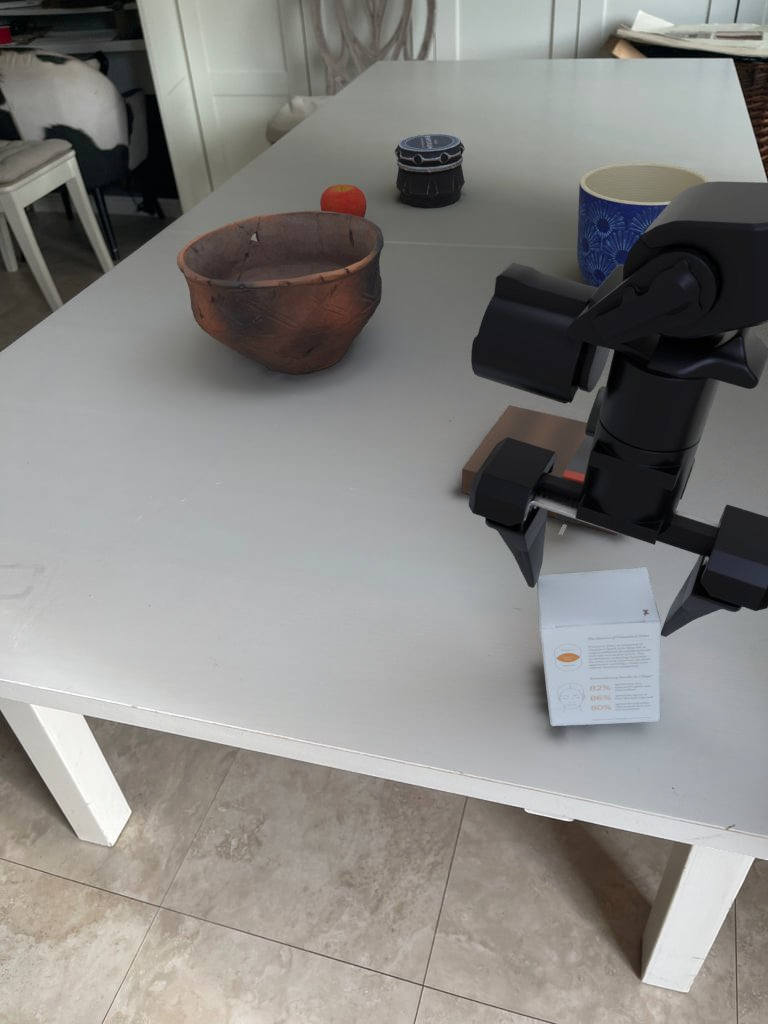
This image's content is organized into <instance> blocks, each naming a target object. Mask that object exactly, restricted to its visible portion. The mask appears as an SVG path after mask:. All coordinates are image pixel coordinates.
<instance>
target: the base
mask: <svg viewBox="0 0 768 1024" xmlns="http://www.w3.org/2000/svg"><path fill="white" fill-rule="evenodd" d="M586 425H587V421H582V420H577V419H573V418H569V417H564V416H559V415H555V414H551V413H546V412H542V411H538V410H533V409H529V408H524V407H521V406H520V407H518V406H515V405H511V404H509V405H507V407H506V408H505V410H504V411H503V412H502V414H501V415H500V417H499V418H498V419H497V420H496V422H495V423H494V425H493V426H492V427H491V429H490V430H489V431H488V433H487V434H486V436H485V437H484V438H483V440H482V441H481V443H480V444H479V445H478V447H477V448H476V449H475V451H474V452H473V453H472V455H471V456H470V457H469V459H468V461H466V463H465V465H463V467H462V468H461V492H462V493H464V494H468V495H470V489H471V485H472V482H473V479H474V476H475V474H476V473H477V471H478V470H479V469H480V467H481V466H482V464H483V463H484V462H485V460H486V459H487V457H488V456H489V454H490V453H491V452H492V450H493V449H494V447H495V446H496V444H497V443H498V442H500V441H502V440H503V439H505V438H507V437H509V438H512V439H516V440H519V441H522V442H525V443H529V444H532V445H535V446H538V447H542V448H545V449H548V450H551V451H555V452H556V454H557V459H556V464H555V468H554V470H553V471H552V472H551V473H549V474H551V475H554V476H558V477H561V476H562V475H563V473H564V471H565V470H566V468H567V466H568V465H569V463H570V461H571V460H572V458H573V456H574V455H575V453H576V451H577V450H578V448H579V446H580V445H581V443H582V441H583V440H584V438H585V436H586V434H585V429H586ZM547 517H550V518H555V519H557V520H561V521H566V522H569V523H572V524H576V525H581V526H583V527H587V528H590V529H594V530H598V531H602V532H605V533H609V534H612V535H616V536H617V535H619V533H616V532H613V531H610V530H607V529H604V528H601V527H598V526H595V525H592V524H589V523H586V522H583V521H580V522H579V524H577V523H574V522H570V521H567V520H563V519H560V518H556V512H553V511H550V510H548V512H547ZM567 528H568V525H567V524H565V523H564V524H562V526H561V528H560V530H559V531H558V534H557V535H558V536H563V535H564V533H565V531H566V529H567Z"/></svg>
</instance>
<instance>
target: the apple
mask: <svg viewBox="0 0 768 1024" xmlns="http://www.w3.org/2000/svg"><path fill="white" fill-rule="evenodd" d="M319 203H320V211H329V212H337V213H344V214H350V215H355V216H359V217H362V218H365V216H366V213H367V200H366V197H365V193H364V192H363V191H362V190H361V189H360V188H358V187H357V186H356V185H352V184H336V185H335V184H334V185H331V186H328V187H327V188H325V190H324V191H323V192H322V193H321V196H320V200H319Z"/></svg>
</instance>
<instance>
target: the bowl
mask: <svg viewBox="0 0 768 1024" xmlns="http://www.w3.org/2000/svg"><path fill="white" fill-rule="evenodd" d="M254 235H255V239H256V240H254V239H252V238H253V236H254ZM384 246H385V241H384V234H383V231H382V229H381V228H380V226H378V225H377V224H375V222H373V221H371V220H370V219H367V218H366V217H364V218H362V217H359V216H355V215H350V214H344V213H337V212H329V211H321V210H300V211H299V210H298V211H287V212H279V213H273V214H261V215H259V216H258V215H256V216H251V217H248V218H244V219H240V220H236V221H233V223H227V224H225V225H222V226H221V227H218V228H216V229H213V230H211V231H208V232H206V233H204V234H201V235H199V236H197V237H195V238H194V239H192V240H190V241H189V242H188V243H187V244H185V246H184V247H183V248H181V250H180V251H179V252H178V255H177V256H176V265H177V267H178V269H179V271H180V272H181V273H182V275H183V276H184V279H185V281H186V283H187V287H188V291H189V298H190V308H191V312H192V315H193V318H194V321H195V322H196V324H197V325H198V327H200V329H201V330H202V331H204V332H205V333H206V334H208V335H209V336H210V337H211V338H213V339H215V340H216V341H218V342H219V343H221V344H222V345H224V346H226V347H227V348H229V349H231V350H233V351H235V352H236V353H238V354H239V355H242V356H244V357H246V358H248V359H250V360H253V361H254V362H257V363H258V364H259V363H260V364H261V365H263V366H266V367H267V368H269V369H270V370H272V371H277V372H281V373H286V374H297V375H299V374H305V373H311V372H314V371H316V370H317V371H320V370H323V369H326V368H329V367H331V366H333V365H335V364H336V363H338V362H339V361H341V359H342V358H343V357H345V356H346V353H347V351H348V350H349V348H350V347H351V346H352V344H353V342H354V341H355V340H356V338H357V337H358V335H360V333H361V332H362V330H363V329H364V327H365V326H366V325H367V323H368V322H369V320H370V319H371V318H372V316H373V315H374V313H375V312H376V310H377V308H378V307H379V305H380V303H381V300H382V296H383V295H382V294H383V284H382V283H383V282H382V275H381V267H380V259H381V253H382V251H383V248H384Z"/></svg>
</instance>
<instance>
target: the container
mask: <svg viewBox="0 0 768 1024" xmlns="http://www.w3.org/2000/svg"><path fill="white" fill-rule="evenodd" d="M465 149H466V148H465V145H464V144H463V143H462V140H461V139H460V138H459V137H458V136H454V135H452V134H445V133H444V134H443V133H427V134H417V135H415V136H414V135H413V136H409V137H405V138H403V139H402V140H400V141H399V142H398V144H397V146H396V148H395V150H394V155H395V157H396V158H397V159H396V166H397V167H398V170H397V175H396V182H395V184H396V188H397V190H398V191H399V192H400V201H401V202H402V203H403V204H406V205H408V206H413V207H414V206H415V207H416V206H417V207H419V208H423V209H428V208H440V207H444V206H445V207H446V206H448V205H451V204H454V203H455V202H457V201H458V200H460V199H461V191H462V188H463V187H464V184H465V182H466V181H465V176H464V171H463V165H462V164H463V161H464V159H463V158H464V157H463V154H464V151H465Z"/></svg>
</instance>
